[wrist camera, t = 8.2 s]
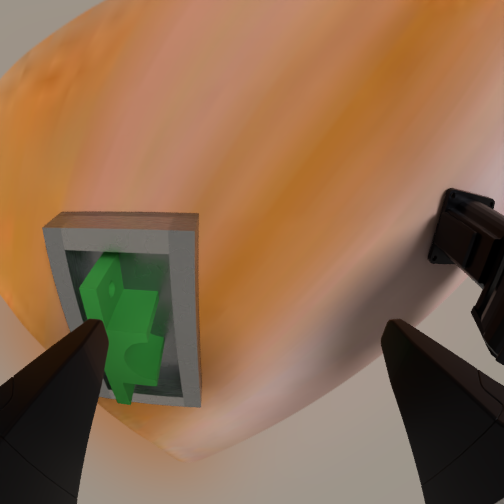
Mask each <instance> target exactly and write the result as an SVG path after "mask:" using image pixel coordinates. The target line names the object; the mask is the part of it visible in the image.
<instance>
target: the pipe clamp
mask: <svg viewBox="0 0 504 504" xmlns="http://www.w3.org/2000/svg"><path fill="white" fill-rule="evenodd" d="M79 290H80V294H81V298H82V301H83V305H84V309H85V312H86V316H87V319H100V320H102V321H103V323H104V327H105V330H106V333H107V336H108V339H109V347H108V352H107V358H106V363H105V369H104V370H105V373H106V376H107V378H108V381H109V383H110V386H111V388H112V391H113V393H114V395H115V398H116V400H117V402H118V403H121V404H128V405H131V401H132V397H133V392H134V387H135V384H138V385H147V386H157V384H158V378H159V372H160V366H161V360H162V355H163V349H164V344H165V343H164V337H160V336H156V335H153V334H151V333H150V332H151V328H152V324H153V320H154V317H155V313H156V309H157V305H158V302H159V294H158V291H147V290H131V289H124V287H123V280H122V274H121V267H120V260H119V252H103V253H102V255H101V256H100V258H99V259H98V261H97V262H96V263H95V265H94V266H93V268H92V269H91V271H90V272H89V274H88V275H87V277H86V278H85V280H84V281H83V283H82V284H81V286H80V287H79Z"/></svg>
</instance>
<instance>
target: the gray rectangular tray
mask: <svg viewBox="0 0 504 504" xmlns="http://www.w3.org/2000/svg"><path fill="white" fill-rule="evenodd" d="M198 227H199V214H197V213H161V212H61V213H60V214H58V215H57V216H56V217H55V218H53V219H52V220H51V221H50V222H49V223H47V224H46V225H45V226H44V227H43V228H42V229H43V234H44V239H45V244H46V248H47V253H48V257H49V262H50V266H51V270H52V274H53V277H54V281H55V285H56V288H57V292H58V295H59V299H60V302H61V305H62V308H63V311H64V314H65V317H66V320H67V323H68V326H69V329H70V332H72V331H73V330H74V329H76V328H77V327H79V326H80V325H81V324H83V323H84V322H85V321H87V320H88V319H87V316H86V312H85V309H84V305H83V301H82V298H81V294H80V290H79V287H80V286H81V284H82V283H83V281H84V280H85V278H86V277H87V275H88V274H89V272H90V271H91V269H92V268H93V266H94V265H95V263H96V262H97V261H98V259H99V258H100V256H101V255H102V253H103V252H119V260H120V267H121V274H122V280H123V287H124V289H131V290H147V291H158V294H159V302H158V305H157V309H156V313H155V317H154V320H153V324H152V328H151V332H150V333H151V334H153V335H156V336H160V337H164V343H165V344H164V349H163V355H162V360H161V366H160V372H159V378H158V384H157V386H147V385H138V384H135V387H134V392H133V397H132V401H131V402H139V403H148V404H158V405H169V406H183V407H201V393H202V378H201V358H200V332H199V289H198ZM99 397H104V398H110V399H116V398H115V395H114V393H113V391H112V388H111V386H110V383H109V381H108V378H107V376H106V373H105V370H104V375H103V381H102V386H101V390H100V394H99Z"/></svg>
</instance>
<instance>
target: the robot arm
mask: <svg viewBox="0 0 504 504" xmlns="http://www.w3.org/2000/svg"><path fill="white" fill-rule="evenodd" d="M452 193H453V195H452ZM451 195H452V196H451ZM494 204H495V201H494V200H493V199H491V198H489V197H485V196H482V195H478V194H474V193H470V192H466V191H462V190H458V189H454V188H449V189H448V190H447V193H446V196H445V200H444V204H443V208H442V212H441V215H440V219H439V223H438V226H437V229H436V233H435V236H434V239H433V242H432V245H431V249H430V252H429V255H428V260H429V261H430V262H431V263H433V264H456V265H457V266H458V267H459V268H461V269H462V270H463V271H464V272H465V273H466V274H467V275H468V276H469V277H470V278H471V279H472V280H474V281H475V282H476V283H477V284H478V285H479V286H480V287H481V288H482V289H483V290H482V292H481V295H480V297H479V299H478V301H477V303H476V305H475V306H474V307H473V309H472V311H471V314H472V316H473V318H474V320H475V322H476V324H477V326H478V328H479V330H480V332H481V335H482V337H483V339H484V341H485V343H486V346H487V347H488V349H489V351H490V353H491V355H492V356H494V357H495V358H496V361H497V362H499V363H501V364H502V365H504V215H502V214H500V213H499V212H497V211H495V210H493V208H494ZM433 257H434V258H433ZM108 347H109V339H108V336H107V333H106V330H105V327H104V323H103V321H102V320H100V319H88V320H87V321H85V322H84V323H83V324H81V325H80V326H79V327H77V328H76V329H74V330H73V331H72V332H70V333H69V334H68V335H66V336H65V337H64V338H62V339H61V340H60V341H58V342H57V343H56V344H54V345H53V346H52V347H50V348H49V349H48V350H46V351H45V352H44V353H42V354H41V355H40V356H38V357H37V358H36V359H35V360H33V361H32V362H31V363H29V364H28V365H27V366H25V367H24V368H23V369H22V370H20V371H19V372H18V373H17V374H15V375H14V378H13V377H11V378H10V379H9V380H8V381H7V382H5V383H4V384H2V385H1V386H0V504H77V497H78V491H79V485H80V479H81V473H82V468H83V463H84V457H85V453H86V448H87V442H88V439H89V433H90V429H91V426H92V421H93V417H94V413H95V409H96V405H97V402H98V398H99V394H100V390H101V386H102V381H103V375H104V369H105V363H106V358H107V352H108ZM381 347H382V351H383V355H384V359H385V362H386V367H387V371H388V375H389V379H390V382H391V386H392V389H393V392H394V395H395V398H396V401H397V404H398V407H399V410H400V413H401V416H402V419H403V422H404V425H405V428H406V432H407V435H408V439H409V442H410V445H411V449H412V452H413V456H414V459H415V463H416V467H417V470H418V474H419V478H420V482H421V485H422V486H421V487H422V491H423V495H424V499H425V504H504V386H503V385H501V384H500V383H498V382H496V381H495V380H493V379H492V378H490V377H489V376H487V375H486V374H484V373H483V372H481V371H480V370H477V369H476V368H475V367H474V366H472V365H471V364H469V363H467V362H466V361H465V360H463V359H462V358H460V357H458V356H457V355H455V354H454V353H453V352H451V351H450V350H448V349H447V348H445V347H443V346H442V345H440V344H439V343H437V342H436V341H434V340H433V339H431V338H430V337H428V336H426V335H425V334H424V333H422V332H420V331H419V330H417V329H416V328H414V327H413V326H411V325H410V324H408V323H406V322H405V321H403V320H402V319H391V320H389V321H388V322H387V325H386V327H385V330H384V332H383V335H382V337H381Z"/></svg>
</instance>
